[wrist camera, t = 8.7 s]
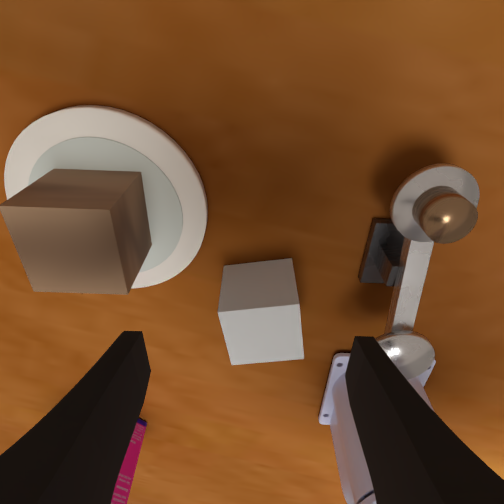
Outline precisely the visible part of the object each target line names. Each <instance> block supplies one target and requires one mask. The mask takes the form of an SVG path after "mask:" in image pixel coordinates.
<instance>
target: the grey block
mask: <svg viewBox="0 0 504 504" xmlns="http://www.w3.org/2000/svg"><path fill="white" fill-rule="evenodd" d="M218 315H219V319H220V323H221V327H222V330H223V334H224V338H225V342H226V345H227V349H228V353H229V357H230V360H231V364H232V365H239V364H251V363H262V362H274V361H285V360H297V359H304V352H303V340H302V328H301V317H300V305H299V299H298V292H297V286H296V280H295V274H294V268H293V262H292V258H289V259H280V260H271V261H262V262H253V263H244V264H235V265H226V266H224V269H223V276H222V284H221V291H220V299H219V306H218Z"/></svg>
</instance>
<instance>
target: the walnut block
mask: <svg viewBox="0 0 504 504" xmlns="http://www.w3.org/2000/svg"><path fill="white" fill-rule="evenodd" d="M0 211H1V213H2V216H3V218H4V220H5V223H6V225H7V228H8V230H9V233H10V235H11V237H12V240H13V242H14V245H15V247H16V250H17V252H18V254H19V257H20V259H21V262H22V264H23V267H24V269H25V271H26V274H27V276H28V279H29V281H30V284H31V286H32V288H33V291H36V292H66V293H96V294H126V295H128V293H129V291H130V289H131V287H132V285H133V283H134V281H135V279H136V277H137V275H138V273H139V271H140V269H141V267H142V265H143V263H144V261H145V259H146V256H147V254H148V252H149V250H150V248H151V246H152V242H151V235H150V228H149V221H148V215H147V208H146V201H145V195H144V188H143V181H142V175H141V172H134V171H107V170H80V169H53V170H51V171H50V172H48V173H47V174H45V175H44V176H42V177H41V178H39V179H38V180H36V181H35V182H33V183H32V184H30V185H29V186H27V187H26V188H24V189H23V190H21V191H20V192H18V193H17V194H15V195H14V196H12V197H11V198H9V199H8V200H6V201H5V202H3V203H2V204H1V205H0Z"/></svg>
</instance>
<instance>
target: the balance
mask: <svg viewBox="0 0 504 504" xmlns="http://www.w3.org/2000/svg"><path fill="white" fill-rule="evenodd" d="M478 201H479V187H478V184H477V182H476V180H475V179H474V177H473V176H472V175H471V174H470V173H468V172H467V171H465V170H464V169H462V168H461V167H459V166H456V165H453V164H447V163H439V164H433V165H429V166H426V167H423V168H421V169H419V170H417V171H415V172H414V173H412V174H411V175H410V176H408V177H407V178H406V179H405V180H404V181H403V182H402V183H401V184H400V185H399V187H398V188H397V190H396V191H395V193H394V195H393V197H392V200H391V204H390V217H391V219H373V221H372V225H371V229H370V233H369V236H368V240H367V244H366V248H365V252H364V256H363V260H362V264H361V267H360V271H359V275H358V278H359V280H360V282H362V283H385V285H386V286H394V289H393V294H392V299H391V304H390V308H389V313H388V318H387V323H386V328H385V332H384V334H383V335H381V336H379V337H377V338H376V341H377V342H378V343H379V345H380V346H381V347H382V349H383V350H384V351H385V352H386V354H387V355H388V356H389V358H390V359H391V360H392V362H393V363H394V364H395V365H396V367H397V368H398V369H399V371H400V372H401V373H402V374H403V376H404V377H405V378H406V379H407V380H409V379H412V378H415V377H417V376H419V375H420V374H422V373H424V372H425V371H426V370H427V369H428V368H429V367H430V366H431V364H432V363H433V361H434V357H435V352H434V349H433V347H432V345H431V344H430V342H429V340H428V339H427V338H426V337H425V336H423V335H422V334H420V333H417V332H414V331H412V330H413V326H414V322H415V318H416V314H417V310H418V306H419V302H420V297H421V293H422V289H423V285H424V281H425V277H426V273H427V269H428V265H429V260H430V256H431V252H432V248H433V244H434V242H437V243H443V244H444V243H452V242H455V241H458V240H460V239H462V238H463V237H465V236H466V235H467V234H468V233H469V232H470V231H471V230H472V229H473V228H474V226H475V224H476V222H477V218H478V212H477V209H476V208H477V205H478Z"/></svg>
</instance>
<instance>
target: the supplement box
mask: <svg viewBox="0 0 504 504" xmlns="http://www.w3.org/2000/svg"><path fill="white" fill-rule="evenodd" d="M146 426H147V423H146V422H145V421H143V420H141V419H139V418H138V420H137V423H136V426H135V429H134V432H133V435H132V438H131V440H130V443H129V446H128V449H127V452H126V455H125V458H124V461H123V463H122V466H121V469H120V472H119V475H118V479H117V482H116V485H115V489H114V493H113V497H112V501H111V504H127V500H128V497H129V493H130V489H131V485H132V481H133V477H134V473H135V469H136V465H137V461H138V457H139V453H140V449H141V445H142V441H143V437H144V433H145V430H146Z"/></svg>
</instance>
